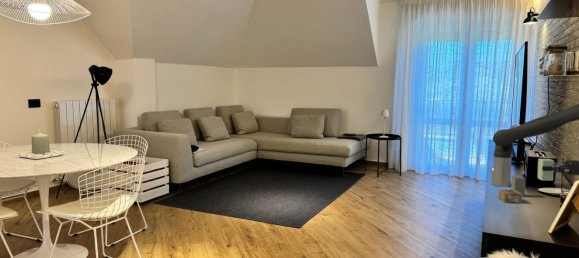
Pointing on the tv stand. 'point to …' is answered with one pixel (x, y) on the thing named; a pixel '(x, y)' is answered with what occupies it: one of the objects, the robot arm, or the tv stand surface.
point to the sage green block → (545, 174)
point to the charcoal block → (518, 184)
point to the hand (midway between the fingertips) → (540, 167)
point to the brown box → (510, 196)
